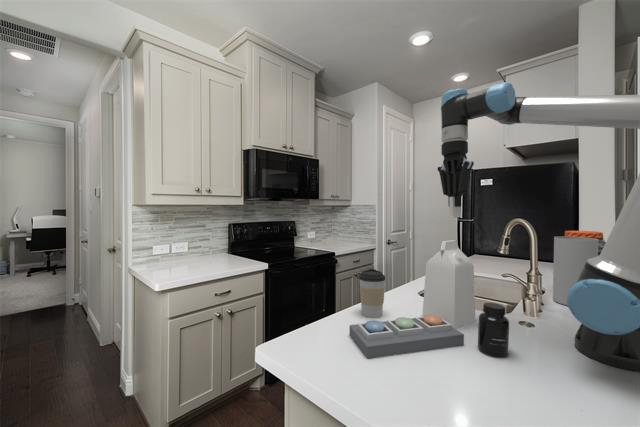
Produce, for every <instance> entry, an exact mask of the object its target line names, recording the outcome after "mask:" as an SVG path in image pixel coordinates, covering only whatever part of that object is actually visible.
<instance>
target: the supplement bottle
mask: <svg viewBox="0 0 640 427" xmlns="http://www.w3.org/2000/svg"><path fill="white" fill-rule="evenodd" d="M482 307H483V308H482V311H483V312H481V313H480V315H478V322H477V323H478V324H477V325H478V326H477V328H478V330H477V331H478V332H477V347H478V350H479V351H481V353H483V354H485V355H487V356H491V357H494V358H505V357H507V356H508V354H509V345H510V344H509V343H510V342H509V339H510V320H509V319H508V318H507V316H506V306H504V305H502V304H500V303H496V302H495V303H494V302H485V303H484V302H483V306H482Z"/></svg>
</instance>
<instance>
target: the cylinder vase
mask: <svg viewBox="0 0 640 427" xmlns="http://www.w3.org/2000/svg"><path fill="white" fill-rule="evenodd" d="M597 256H598V239H594V238H585V237H567V236H563V235H562V236H558V235H557V236H554V237H553V277H552V278H553V280H552V299H553V301H554V302H555V303H557V304H560V305H562V306H567V307H568V304H567V295H568V291H569V289H570V288H571V287H572V286H573V285H574V284H575V283H576V282H577V280H578V278H579V276H580V274H581V272H582V270H583V268H584V266H585V264H586V262H587V260H588V259H590V258H594V257H597Z"/></svg>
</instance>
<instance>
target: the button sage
mask: <svg viewBox="0 0 640 427" xmlns="http://www.w3.org/2000/svg"><path fill="white" fill-rule="evenodd" d="M409 318H410V317H404V316H403V317H396V318H395V319H394V320H395V326H397V327H398V328H399V329H401V330H403V329H411V328H414V321H413V320H412V318H410V319H409Z"/></svg>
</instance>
